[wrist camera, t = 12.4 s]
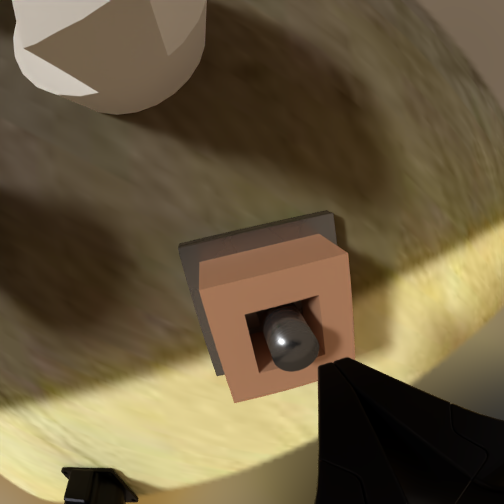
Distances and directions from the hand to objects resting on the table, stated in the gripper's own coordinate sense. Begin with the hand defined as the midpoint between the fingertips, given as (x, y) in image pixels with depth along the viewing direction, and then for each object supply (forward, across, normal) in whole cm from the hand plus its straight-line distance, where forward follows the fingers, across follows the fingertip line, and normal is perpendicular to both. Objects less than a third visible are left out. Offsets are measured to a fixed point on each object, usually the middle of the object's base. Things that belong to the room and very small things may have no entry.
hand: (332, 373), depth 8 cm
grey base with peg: (+12, 0, +3) cm, 12 cm away
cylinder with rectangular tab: (+12, +5, -14) cm, 19 cm away
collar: (+11, 0, +3) cm, 11 cm away
